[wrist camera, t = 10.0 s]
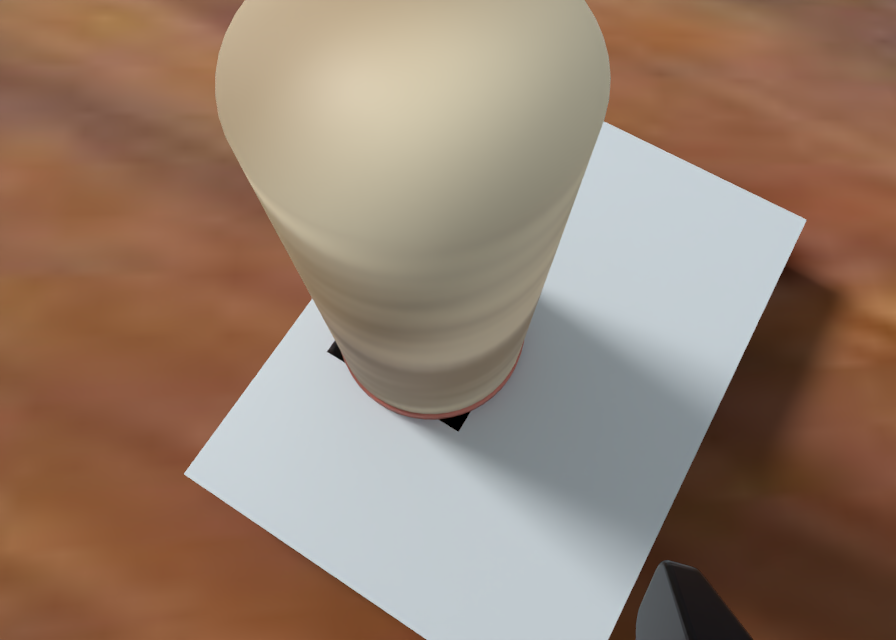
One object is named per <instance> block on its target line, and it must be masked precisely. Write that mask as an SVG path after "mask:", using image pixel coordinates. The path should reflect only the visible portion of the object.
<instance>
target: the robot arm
mask: <svg viewBox="0 0 896 640" xmlns="http://www.w3.org/2000/svg"><path fill="white" fill-rule="evenodd" d="M636 640H753V639H752V637H751V636H750V635H749V633H748V632H747V631H746V629H745V628H744V627H743V626H742V624H741V623H740V622H739V620H738V619H737V618H736V617H735V615H734V614H733V613H732V611H731V610H730V609H729V608H728V606H727V605H726V604H725V602H724V601H723V600H722V599H721V597H720V596H719V595H718V593H717V592H716V591H715V590H714V588H713V587H712V586H711V584H710V583H709V582H708V580H707V579H706V578H705V577H704V575H703V574H702V573H701V572H700V571H699V570H698V569H696V568H694V567H692V566H688V565H684V564H680V563H677V562H673V561H669V560H666V561H663V562H661V563H660V564H659V565H658V567H657V569H656V571H655V573H654V575H653V578H652V580H651V582H650V585H649V587H648V589H647V591H646V594H645V596H644V598H643V600H642V603H641V605H640V608H639V611H638V616H637V623H636Z"/></svg>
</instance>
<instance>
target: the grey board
mask: <svg viewBox="0 0 896 640" xmlns="http://www.w3.org/2000/svg"><path fill="white" fill-rule="evenodd" d="M805 222H806V219H804V218H802V217H800V216H797V215H795V214H793V213H791V212H789V211H787V210H785V209H783V208H781V207H779V206H777V205H775V204H773V203H771V202H769V201H767V200H765V199H762V198H760V197H758V196H756V195H754V194H752V193H750V192H748V191H746V190H744V189H742V188H740V187H738V186H736V185H734V184H732V183H730V182H727V181H725V180H723V179H721V178H719V177H717V176H715V175H713V174H711V173H709V172H707V171H705V170H703V169H701V168H699V167H697V166H695V165H692V164H690V163H688V162H686V161H684V160H682V159H680V158H678V157H676V156H674V155H672V154H670V153H668V152H666V151H664V150H662V149H659V148H657V147H655V146H653V145H651V144H649V143H647V142H645V141H643V140H641V139H639V138H637V137H635V136H633V135H631V134H629V133H627V132H624V131H622V130H620V129H618V128H616V127H614V126H612V125H610V124H608V123H606V122H603V125H602V127H601V130H600V133H599V136H598V138H597V141H596V144H595V147H594V149H593V152H592V155H591V158H590V160H589V163H588V166H587V169H586V171H585V174H584V177H583V180H582V182H581V185H580V188H579V190H578V193H577V196H576V199H575V201H574V204H573V207H572V210H571V212H570V215H569V218H568V221H567V223H566V226H565V229H564V232H563V234H562V237H561V240H560V243H559V245H558V248H557V251H556V254H555V256H554V259H553V262H552V265H551V267H550V270H549V273H548V276H547V278H546V281H545V284H544V287H543V289H542V292H541V295H540V298H539V300H538V303H537V306H536V309H535V311H534V314H533V317H532V320H531V322H530V325H529V328H528V331H527V333H526V336H525V339H524V344H523V348H522V352H521V355H520V358H519V360H518V363H517V365H516V368H515V370H514V371H513V373H512V375H511V377H510V378H509V380H508V381H507V382H506V384H505V385H504V386H503V388H502V389H501V390H500V391H499V392H498V393H497V394H496V395H495V396H494V397H493V398H491V399H490V400H489V401H487V402H486V403H484V404H483V405H481V406H480V407H478V408H476V409H474V410H472V411H471V412H470V414H469V415H468V417H467V419H466V420H465V422H464V424H463V425H462V427H461V429H460V430H459V432H458V431H456V430H455V429H453V428H451V427H450V426H448V425H446V424H445V423H443V422H441V421H440V420H438V419H437V420H429V419H417V418H411V417H407V416H404V415H400V414H397V413H395V412H393V411H391V410H388V409H386V408H385V407H383V406H381V405H380V404H378V403H377V402H375V401H374V400H373V399H372V398H370V397H369V396H368V395H367V394H366V393H365V392H364V391H363V390H362V389H361V388H360V387H359V385H358V384H357V382H356V381H355V380H354V378H353V377H352V375H351V373H350V371H349V369H348V367H347V365H346V364H345V361H344V359H343V356H342V353H341V351H340V349H339V347H338V345H337V343H336V341H335V339H334V338H333V336H332V334H331V332H330V330H329V328H328V326H327V325H326V323H325V321H324V319H323V317H322V315H321V314H320V312H319V310H318V308H317V306H316V304H315V302H314V301H313V299H312V300H311V301H310V303H309V304H308V305H307V307H306V308H305V310H304V311H303V312H302V314H301V315H300V316H299V318H298V319H297V320H296V322H295V323H294V325H293V326H292V327H291V329H290V330H289V331H288V333H287V334H286V335H285V337H284V338H283V340H282V341H281V342H280V344H279V345H278V346H277V348H276V349H275V350H274V352H273V353H272V355H271V356H270V357H269V359H268V360H267V361H266V363H265V364H264V365H263V367H262V368H261V370H260V371H259V372H258V374H257V375H256V376H255V378H254V379H253V380H252V382H251V383H250V385H249V386H248V387H247V389H246V390H245V391H244V393H243V394H242V395H241V397H240V398H239V400H238V401H237V402H236V404H235V405H234V406H233V408H232V409H231V410H230V412H229V413H228V415H227V416H226V417H225V419H224V420H223V421H222V423H221V424H220V425H219V427H218V428H217V430H216V431H215V432H214V434H213V435H212V436H211V438H210V439H209V440H208V442H207V443H206V445H205V446H204V447H203V449H202V450H201V451H200V453H199V454H198V455H197V457H196V458H195V460H194V461H193V462H192V464H191V465H190V466H189V468H188V469H187V470H186V472H185V473H184V474H185V475H186V476H187V477H189V478H190V479H192V480H193V481H195V482H196V483H198V484H199V485H201V486H202V487H204V488H205V489H207V490H208V491H210V492H211V493H212V494H214V495H215V496H217V497H218V498H220V499H221V500H223V501H224V502H226V503H227V504H229V505H230V506H232V507H233V508H234V509H236V510H237V511H239V512H240V513H242V514H243V515H245V516H246V517H248V518H249V519H251V520H252V521H254V522H255V523H256V524H258V525H259V526H261V527H262V528H264V529H265V530H267V531H268V532H270V533H271V534H273V535H274V536H276V537H277V538H278V539H280V540H281V541H283V542H284V543H286V544H287V545H289V546H290V547H292V548H293V549H295V550H296V551H298V552H299V553H300V554H302V555H303V556H305V557H306V558H308V559H309V560H311V561H312V562H314V563H315V564H317V565H318V566H320V567H321V568H322V569H324V570H325V571H327V572H328V573H330V574H331V575H333V576H334V577H336V578H337V579H339V580H340V581H342V582H343V583H344V584H346V585H347V586H349V587H350V588H352V589H353V590H355V591H356V592H358V593H359V594H361V595H362V596H364V597H365V598H366V599H368V600H369V601H371V602H372V603H374V604H375V605H377V606H378V607H380V608H381V609H383V610H384V611H386V612H387V613H388V614H390V615H391V616H393V617H394V618H396V619H397V620H399V621H400V622H402V623H403V624H405V625H406V626H408V627H409V628H410V629H412V630H413V631H415V632H416V633H418V634H419V635H421V636H422V637H424V638H425V639H427V640H608V639H609V637H610V635H611V632H612V630H613V628H614V626H615V624H616V622H617V620H618V618H619V616H620V613H621V611H622V609H623V607H624V605H625V603H626V601H627V599H628V597H629V594H630V592H631V590H632V588H633V586H634V584H635V582H636V580H637V577H638V575H639V573H640V571H641V569H642V567H643V565H644V563H645V561H646V558H647V556H648V554H649V552H650V550H651V548H652V546H653V544H654V542H655V539H656V537H657V535H658V533H659V531H660V529H661V527H662V525H663V523H664V520H665V518H666V516H667V514H668V512H669V510H670V508H671V506H672V503H673V501H674V499H675V497H676V495H677V493H678V491H679V489H680V487H681V484H682V482H683V480H684V478H685V476H686V474H687V472H688V470H689V468H690V465H691V463H692V461H693V459H694V457H695V455H696V453H697V451H698V448H699V446H700V444H701V442H702V440H703V438H704V436H705V434H706V432H707V429H708V427H709V425H710V423H711V421H712V419H713V417H714V415H715V413H716V410H717V408H718V406H719V404H720V402H721V400H722V398H723V396H724V394H725V391H726V389H727V387H728V385H729V383H730V381H731V379H732V377H733V374H734V372H735V370H736V368H737V366H738V364H739V362H740V360H741V358H742V355H743V353H744V351H745V349H746V347H747V345H748V343H749V341H750V339H751V336H752V334H753V332H754V330H755V328H756V326H757V324H758V322H759V319H760V317H761V315H762V313H763V311H764V309H765V307H766V305H767V303H768V300H769V298H770V296H771V294H772V292H773V290H774V288H775V286H776V284H777V281H778V279H779V277H780V275H781V273H782V271H783V269H784V267H785V264H786V262H787V260H788V258H789V256H790V254H791V252H792V250H793V248H794V245H795V243H796V241H797V239H798V237H799V235H800V233H801V231H802V229H803V226H804V224H805Z"/></svg>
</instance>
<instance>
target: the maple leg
mask: <svg viewBox="0 0 896 640" xmlns="http://www.w3.org/2000/svg"><path fill="white" fill-rule="evenodd" d="M610 79H611V78H610V66H609V57H608V53H607V49H606V45H605V41H604V37H603V35H602V32H601V30H600V28H599V25H598V23H597V21H596V18H595V17H594V15H593V13H592V12H591V10H590V8H589V7H588V5H587V3H586V2H585V0H245V1H244V2H243V4H242V5H241V7H240V8H239V10H238V11H237V12H236V14H235V16H234V18H233V20H232V22H231V24H230V26H229V28H228V30H227V31H226V34H225V37H224V40H223V43H222V46H221V49H220V52H219V56H218V62H217V68H216V74H215V96H216V102H217V109H218V115H219V119H220V122H221V125H222V128H223V131H224V134H225V137H226V139H227V141H228V142H229V144H230V146H231V148H232V150H233V152H234V154H235V156H236V158H237V160H238V161H239V163H240V165H241V167H242V169H243V171H244V173H245V174H246V176H247V178H248V180H249V182H250V184H251V186H252V187H253V189H254V191H255V193H256V195H257V197H258V199H259V200H260V202H261V204H262V206H263V208H264V210H265V212H266V213H267V215H268V217H269V219H270V221H271V223H272V224H273V226H274V228H275V230H276V232H277V234H278V236H279V237H280V239H281V241H282V243H283V245H284V247H285V249H286V250H287V252H288V254H289V256H290V258H291V260H292V262H293V263H294V265H295V267H296V269H297V271H298V273H299V275H300V276H301V278H302V280H303V282H304V284H305V286H306V288H307V289H308V291H309V293H310V295H311V297H312V299H313V301H314V302H315V304H316V306H317V308H318V310H319V312H320V314H321V315H322V317H323V319H324V321H325V323H326V325H327V326H328V328H329V330H330V332H331V334H332V336H333V338H334V339H335V341H336V343H337V345H338V347H339V349H340V351H341V353H342V356H343V359H344V361H345V364H346V365H347V367H348V369H349V371H350V373H351V375H352V377H353V378H354V380H355V381H356V382H357V384H358V385H359V387H360V388H361V389H362V390H363V391H364V392H365V393H366V394H367V395H368V396H369V397H370V398H372V399H373V400H374V401H375V402H377V403H378V404H380V405H381V406H383V407H385V408H386V409H388V410H391V411H393V412H395V413H397V414H400V415H404V416H407V417H411V418H417V419H429V420H437V419H446V418H451V417H455V416H459V415H462V414H465V413H467V412H470V411H472V410H474V409H476V408H478V407H480V406H481V405H483V404H484V403H486V402H487V401H489V400H490V399H491V398H493V397H494V396H495V395H496V394H497V393H498V392H499V391H500V390H501V389H502V388H503V386H504V385H505V384H506V382H507V381H508V380H509V378H510V377H511V375H512V373H513V371H514V370H515V368H516V365H517V363H518V360H519V358H520V355H521V352H522V348H523V344H524V339H525V336H526V333H527V331H528V328H529V325H530V322H531V320H532V317H533V314H534V311H535V309H536V306H537V303H538V300H539V298H540V295H541V292H542V289H543V287H544V284H545V281H546V278H547V276H548V273H549V270H550V267H551V265H552V262H553V259H554V256H555V254H556V251H557V248H558V245H559V243H560V240H561V237H562V234H563V232H564V229H565V226H566V223H567V221H568V218H569V215H570V212H571V210H572V207H573V204H574V201H575V199H576V196H577V193H578V190H579V188H580V185H581V182H582V180H583V177H584V174H585V171H586V169H587V166H588V163H589V160H590V158H591V155H592V152H593V149H594V147H595V144H596V141H597V138H598V136H599V133H600V130H601V127H602V125H603V122H604V118H605V114H606V110H607V106H608V102H609V93H610Z"/></svg>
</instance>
